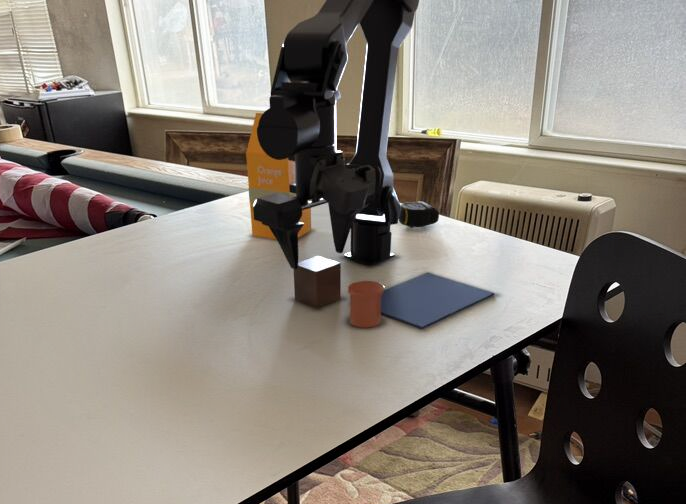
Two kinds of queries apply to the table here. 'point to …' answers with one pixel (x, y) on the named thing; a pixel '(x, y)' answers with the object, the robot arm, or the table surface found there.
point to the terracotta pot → (365, 303)
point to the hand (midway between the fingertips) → (317, 260)
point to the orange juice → (269, 182)
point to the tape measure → (417, 214)
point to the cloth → (429, 299)
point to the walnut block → (317, 281)
